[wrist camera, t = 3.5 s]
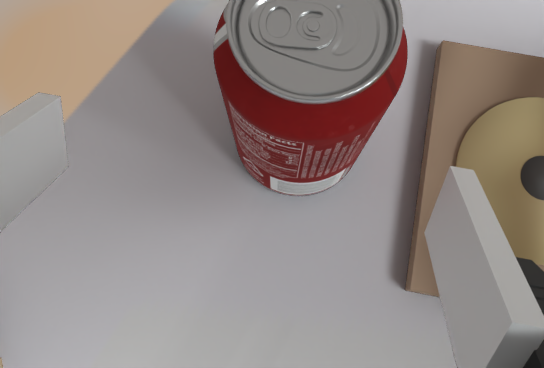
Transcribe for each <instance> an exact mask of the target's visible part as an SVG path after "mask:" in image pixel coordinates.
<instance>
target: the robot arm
mask: <svg viewBox="0 0 544 368" xmlns="http://www.w3.org/2000/svg"><path fill="white" fill-rule="evenodd" d="M68 167H69V165H68V156H67V148H66V139H65V130H64V122H63V113H62V105H61V96H56V95H50V94H45V93H37V94H35V95H34V96H32V97H31V98H29V99H27V100H26V101H24V102H23V103H21V104H19V105H18V106H16V107H15V108H13V109H11V110H10V111H8V112H7V113H5V114H3V115H2V116H0V232H1V231H2V230H3V229H4V228H5V227H6V226H7V225H9V224H10V223H11V222H12V221H13V220H14V219H15V218H16V217H17V216H18V215H19V214H20V213H21V212H22V211H23V210H24V209H25V208H26V207H27V206H28V205H29V204H30V203H31V202H32V201H33V200H35V199H36V198H37V197H38V196H39V195H40V194H41V193H42V192H43V191H44V190H45V189H46V188H47V187H48V186H49V185H50V184H51V183H52V182H53V181H54V180H55V179H56V178H57V177H58V176H59V175H60V174H62V173H63V172H64V171H65V170H66V169H67V168H68ZM424 233H425V237H426V241H427V245H428V250H429V254H430V258H431V262H432V266H433V270H434V274H435V279H436V283H437V287H438V291H439V295H440V299H441V304H442V308H443V312H444V316H445V320H446V324H447V328H448V333H449V337H450V341H451V345H452V349H453V353H454V358H455V362H456V366H457V368H544V271H543V270H542V269H541V268H540V267H539V266H538V265H537V264H535V263H534V262H533V261H532V260H529V259H524V258H519V257H515V255H514V253H513V251H512V249H511V247H510V245H509V242H508V240H507V238H506V236H505V234H504V232H503V230H502V228H501V226H500V224H499V222H498V220H497V217H496V215H495V213H494V211H493V209H492V207H491V205H490V203H489V201H488V199H487V197H486V195H485V192H484V190H483V188H482V186H481V184H480V182H479V180H478V178H477V176H476V174H475V172H474V170H471V169H465V168H460V167H454V166H450V167H449V170H448V173H447V175H446V178H445V180H444V183H443V186H442V188H441V191H440V193H439V196H438V198H437V201H436V204H435V206H434V209H433V211H432V214H431V217H430V219H429V222H428V224H427V227H426V230H425V232H424Z"/></svg>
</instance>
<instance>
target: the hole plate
mask: <svg viewBox="0 0 544 368" xmlns="http://www.w3.org/2000/svg"><path fill="white" fill-rule="evenodd" d="M450 166H454V167H460V168H465V169H471V170H474V172H475V174H476V176H477V178H478V180H479V182H480V184H481V186H482V188H483V190H484V192H485V195H486V197H487V199H488V201H489V203H490V205H491V207H492V209H493V211H494V213H495V215H496V217H497V220H498V222H499V224H500V226H501V228H502V230H503V232H504V234H505V236H506V238H507V240H508V242H509V245H510V247H511V249H512V251H513V253H514V255H515V257H519V258H524V259H529V260H532V261H533V262H534V263H535V264H537V265H538V266H539V267H540V268H541V269H542V270H543V271H544V58H542V57H536V56H530V55H524V54H519V53H513V52H507V51H501V50H495V49H490V48H484V47H478V46H472V45H466V44H461V43H455V42H449V41H442V42H441V44H440V45H439V47H438V48H437V52H436V60H435V67H434V75H433V82H432V90H431V97H430V105H429V113H428V120H427V128H426V135H425V143H424V150H423V158H422V166H421V173H420V181H419V188H418V196H417V203H416V211H415V219H414V226H413V234H412V241H411V249H410V256H409V264H408V272H407V279H406V287H405V290H406V291H411V292H416V293H421V294H426V295H431V296H436V297H440V295H439V291H438V287H437V283H436V279H435V274H434V270H433V266H432V262H431V258H430V254H429V250H428V245H427V241H426V237H425V233H424V232H425V230H426V227H427V224H428V222H429V219H430V217H431V214H432V211H433V209H434V206H435V204H436V201H437V198H438V196H439V193H440V191H441V188H442V186H443V183H444V180H445V178H446V175H447V173H448V170H449V167H450Z"/></svg>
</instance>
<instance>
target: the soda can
mask: <svg viewBox="0 0 544 368" xmlns="http://www.w3.org/2000/svg"><path fill="white" fill-rule="evenodd" d="M214 64H215V69H216V74H217V77H218V81H219V85H220V88H221V92H222V96H223V99H224V103H225V107H226V110H227V114H228V118H229V121H230V125H231V129H232V132H233V136H234V140H235V143H236V147H237V151H238V154H239V157H240V159H241V161H242V163H243V165H244V167H245V168H246V170H247V171H248V172H249V174H250V175H251V176H252V177H253V178H254V179H255V180H256V181H257V182H259V183H260V184H261V185H263V186H264V187H266V188H268V189H270V190H272V191H274V192H277V193H280V194H284V195H290V196H307V195H313V194H317V193H320V192H322V191H325V190H327V189H329V188H331V187H332V186H334V185H335V184H337V183H338V182H339V181H340V180H341V179H342V178H343V177H344V176H345V175H346V174H347V173H348V172H349V170H350V169H351V167H352V166H353V164H354V162H355V161H356V159H357V157H358V156H359V154H360V153H361V151H362V149H363V148H364V146H365V144H366V143H367V141H368V139H369V138H370V136H371V135H372V133H373V131H374V130H375V128H376V126H377V125H378V123H379V122H380V120H381V118H382V117H383V115H384V113H385V112H386V110H387V109H388V107H389V105H390V104H391V102H392V100H393V99H394V97H395V96H396V94H397V92H398V90H399V88H400V86H401V83H402V80H403V78H404V74H405V70H406V65H407V40H406V35H405V30H404V27H403V16H402V9H401V4H400V1H399V0H229V2H228V4H227V6H226V8H225V9H224V11H223V13H222V15H221V17H220V20H219V22H218V25H217V28H216V33H215V37H214Z"/></svg>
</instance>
